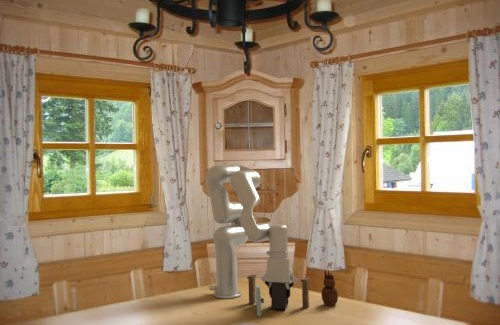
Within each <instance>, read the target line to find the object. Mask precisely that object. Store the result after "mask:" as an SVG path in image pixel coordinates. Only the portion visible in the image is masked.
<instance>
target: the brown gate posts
mask: <svg viewBox="0 0 500 325" xmlns="http://www.w3.org/2000/svg"><path fill="white" fill-rule="evenodd" d="M246 277H247V278H246V279H247V281H248V304H249V305H252V306H253V305H255V304H256V278H257V274H249V275H248V276H246ZM309 281H310V277H305V276H304V277H301V279H300V282H301V294H302V295H301V296H302V299H301V300H302V309H308V308H309V307H310V306H309V305H310V301H309V300H310V298H309V297H310V294H309V293H310V291H309Z"/></svg>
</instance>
